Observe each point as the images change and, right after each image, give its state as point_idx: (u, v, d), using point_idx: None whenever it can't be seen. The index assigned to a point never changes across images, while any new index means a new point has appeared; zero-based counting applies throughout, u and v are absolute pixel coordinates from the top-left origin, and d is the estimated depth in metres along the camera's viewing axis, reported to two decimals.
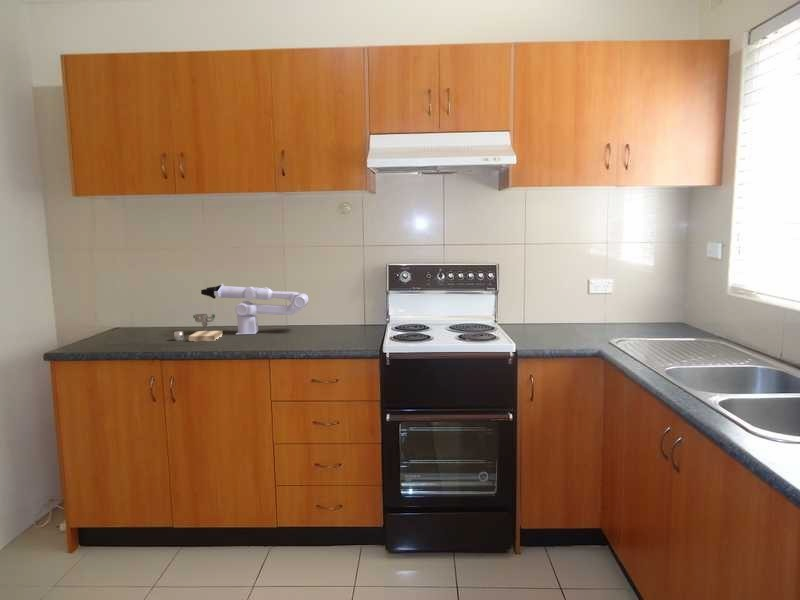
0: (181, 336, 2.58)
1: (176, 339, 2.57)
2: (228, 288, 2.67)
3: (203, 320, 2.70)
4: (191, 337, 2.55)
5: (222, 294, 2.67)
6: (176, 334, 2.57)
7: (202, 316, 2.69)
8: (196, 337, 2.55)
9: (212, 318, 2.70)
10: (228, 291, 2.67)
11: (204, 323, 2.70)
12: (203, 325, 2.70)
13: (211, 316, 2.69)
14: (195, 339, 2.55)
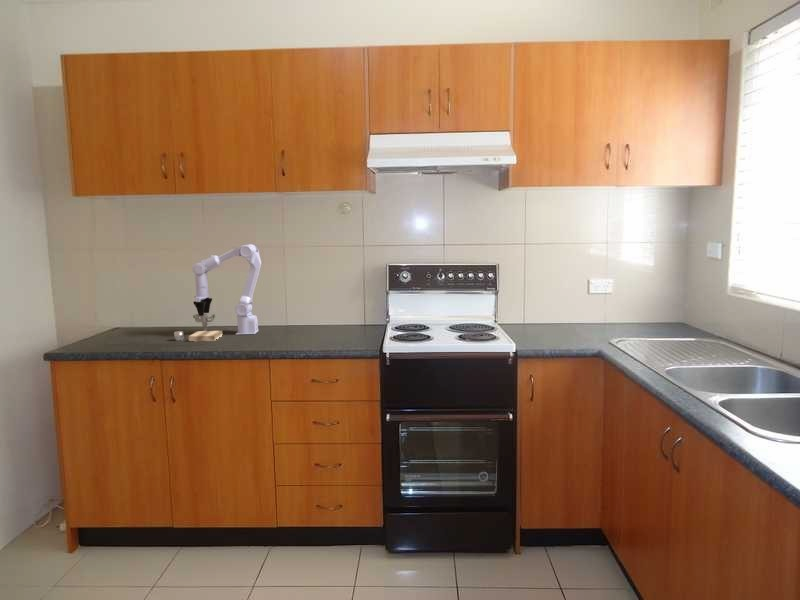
0: (181, 336, 2.58)
1: (176, 339, 2.57)
2: (196, 289, 2.67)
3: (203, 320, 2.70)
4: (191, 337, 2.55)
5: (202, 295, 2.67)
6: (176, 334, 2.57)
7: (202, 316, 2.69)
8: (196, 337, 2.55)
9: (212, 318, 2.70)
10: (198, 289, 2.66)
11: (204, 323, 2.70)
12: (203, 325, 2.70)
13: (211, 316, 2.69)
14: (195, 339, 2.55)
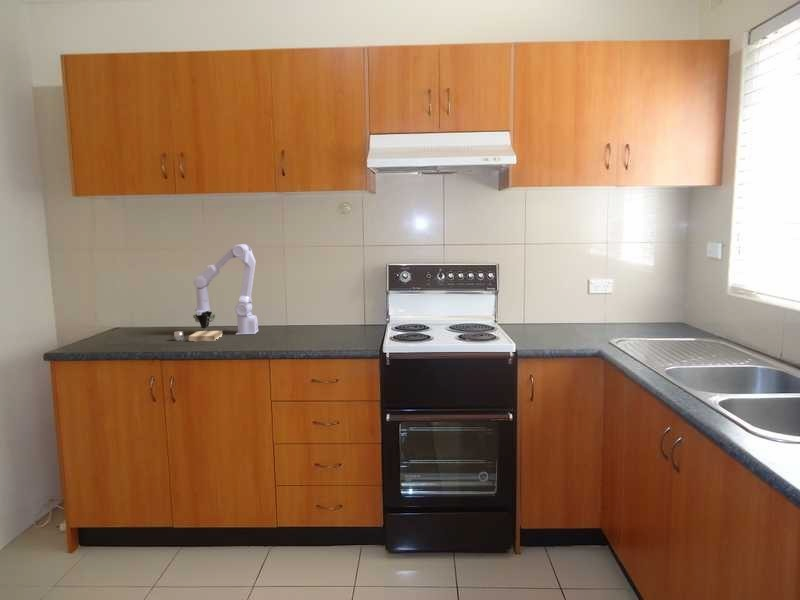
0: (181, 336, 2.58)
1: (176, 339, 2.57)
2: (197, 303, 2.68)
3: None
4: (191, 337, 2.55)
5: (203, 308, 2.68)
6: (176, 334, 2.57)
7: None
8: (196, 337, 2.55)
9: (212, 318, 2.70)
10: (199, 302, 2.67)
11: None
12: None
13: (211, 316, 2.70)
14: (195, 339, 2.55)
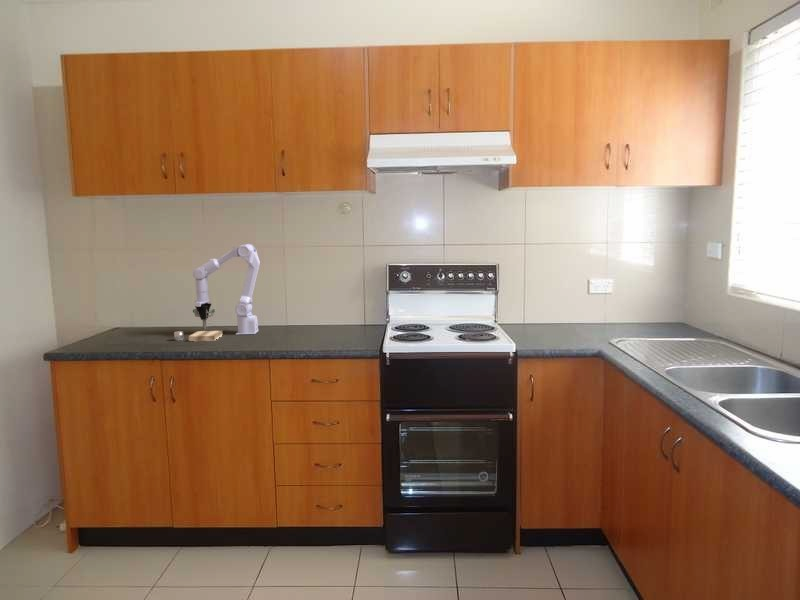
0: (181, 336, 2.58)
1: (176, 339, 2.57)
2: (197, 294, 2.67)
3: None
4: (191, 337, 2.55)
5: (203, 300, 2.67)
6: (176, 334, 2.57)
7: None
8: (196, 337, 2.55)
9: (212, 313, 2.70)
10: (199, 294, 2.67)
11: None
12: (203, 320, 2.70)
13: (211, 311, 2.69)
14: (195, 339, 2.55)
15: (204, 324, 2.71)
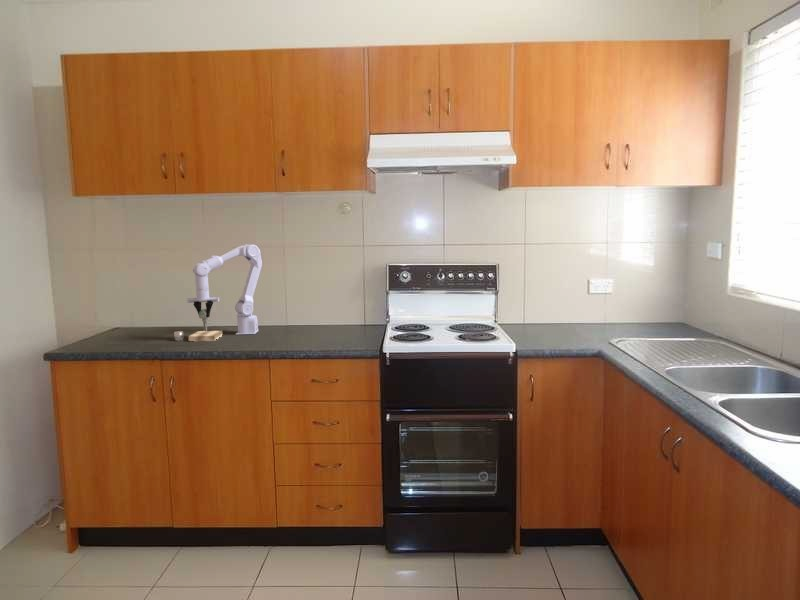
0: (181, 336, 2.58)
1: (176, 339, 2.57)
2: None
3: None
4: (191, 337, 2.55)
5: None
6: (176, 334, 2.57)
7: None
8: (196, 337, 2.55)
9: (200, 315, 2.56)
10: None
11: (202, 319, 2.60)
12: None
13: (199, 312, 2.56)
14: (195, 339, 2.55)
15: None
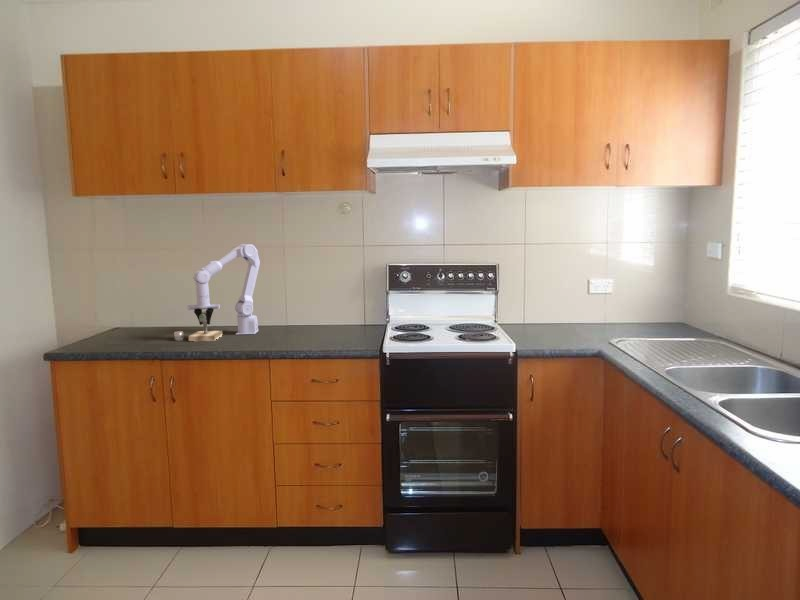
0: (181, 336, 2.58)
1: (176, 339, 2.57)
2: None
3: None
4: (191, 337, 2.55)
5: (197, 304, 2.58)
6: (176, 334, 2.57)
7: None
8: (196, 337, 2.55)
9: (200, 318, 2.56)
10: None
11: (202, 322, 2.60)
12: (202, 323, 2.60)
13: (199, 316, 2.56)
14: (195, 339, 2.55)
15: None
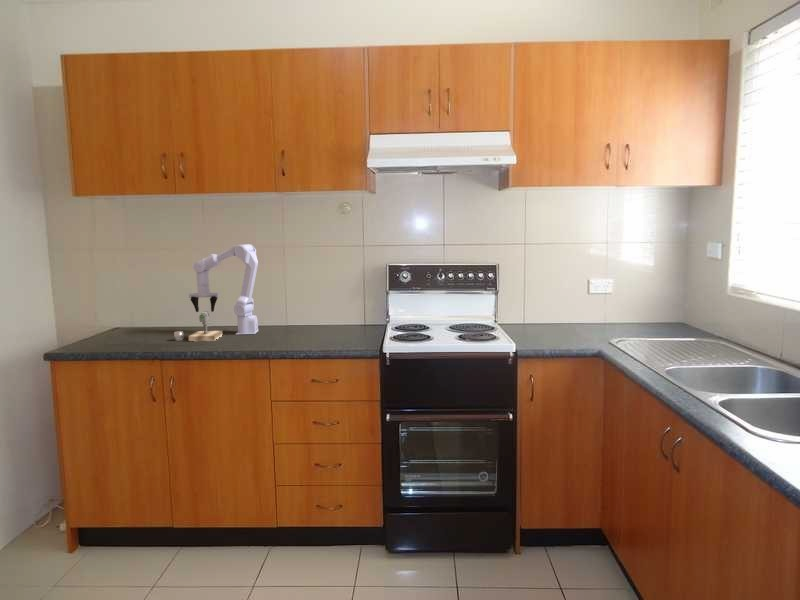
0: (181, 336, 2.58)
1: (176, 339, 2.57)
2: None
3: None
4: (191, 337, 2.55)
5: None
6: (176, 334, 2.57)
7: None
8: (196, 337, 2.55)
9: (200, 318, 2.56)
10: None
11: (202, 322, 2.60)
12: (202, 323, 2.60)
13: (199, 316, 2.56)
14: (195, 339, 2.55)
15: None
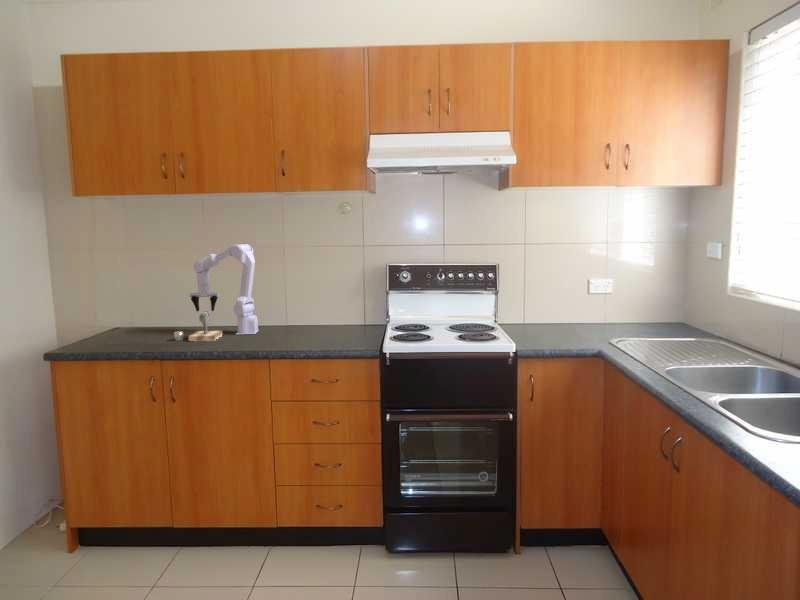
0: (181, 336, 2.58)
1: (176, 339, 2.57)
2: None
3: None
4: (191, 337, 2.55)
5: (198, 292, 2.76)
6: (176, 334, 2.57)
7: None
8: (196, 337, 2.55)
9: (200, 318, 2.56)
10: None
11: (202, 322, 2.60)
12: (202, 323, 2.60)
13: (199, 316, 2.56)
14: (195, 339, 2.55)
15: None
